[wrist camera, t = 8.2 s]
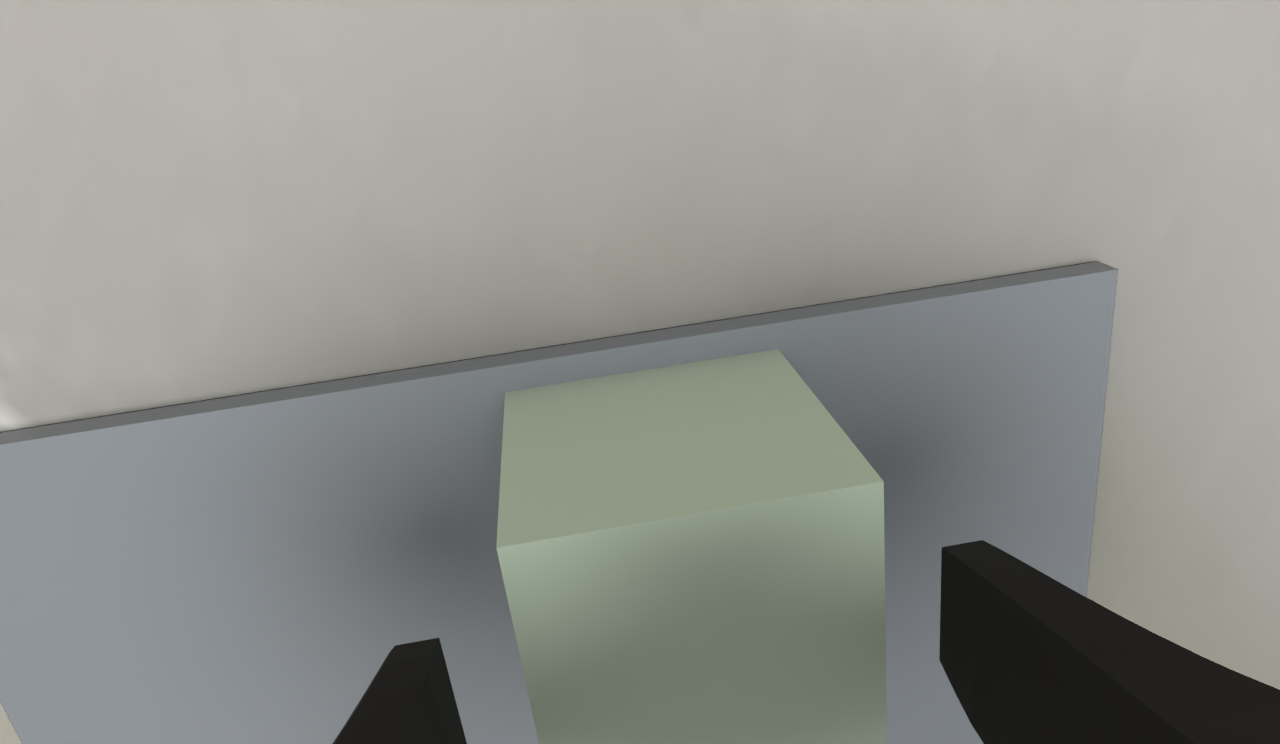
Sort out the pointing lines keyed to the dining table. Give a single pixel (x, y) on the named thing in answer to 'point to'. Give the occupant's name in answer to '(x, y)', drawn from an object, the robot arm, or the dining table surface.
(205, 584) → the grey mat
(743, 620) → the green block
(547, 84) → the dining table surface
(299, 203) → the dining table surface
